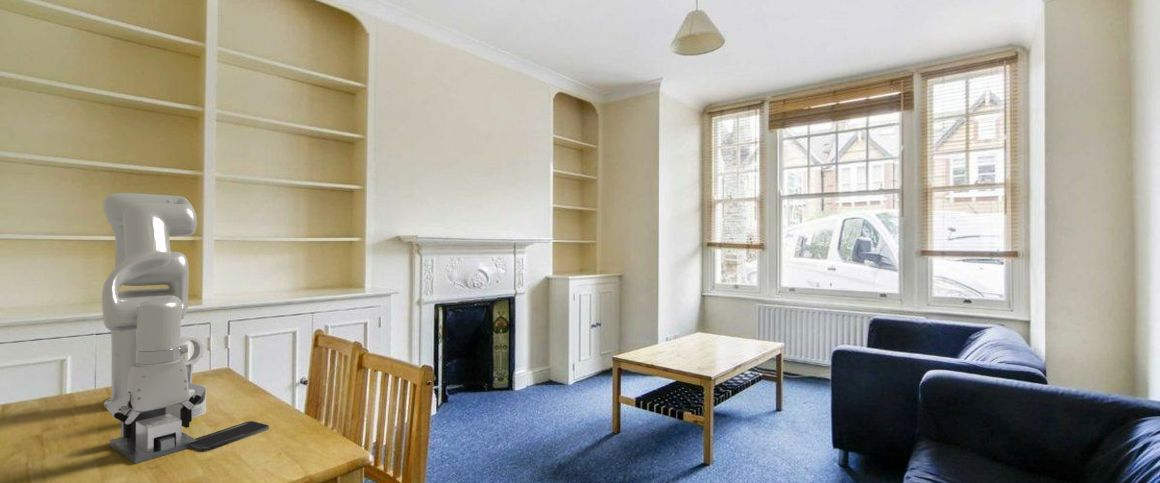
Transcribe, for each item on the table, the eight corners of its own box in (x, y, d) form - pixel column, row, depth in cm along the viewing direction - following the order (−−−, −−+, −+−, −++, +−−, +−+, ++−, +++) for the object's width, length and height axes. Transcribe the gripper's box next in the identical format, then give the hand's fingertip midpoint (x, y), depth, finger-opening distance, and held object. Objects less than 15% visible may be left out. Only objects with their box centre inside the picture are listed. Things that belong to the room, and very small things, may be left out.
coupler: (109, 445, 114) (109, 406, 114) (169, 430, 124) (169, 393, 124) (135, 463, 106) (135, 421, 106) (197, 445, 115) (197, 406, 115)
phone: (184, 442, 115) (250, 420, 129) (184, 447, 115) (250, 424, 129) (205, 448, 112) (271, 425, 125) (205, 454, 112) (271, 430, 125)
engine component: (147, 419, 130) (179, 423, 128) (147, 340, 130) (179, 342, 128) (188, 405, 141) (218, 408, 139) (188, 332, 141) (218, 333, 139)
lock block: (147, 451, 109) (147, 428, 109) (135, 443, 113) (135, 421, 113) (181, 442, 114) (181, 420, 114) (168, 434, 118) (168, 413, 118)
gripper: (197, 347, 122) (197, 418, 122) (101, 361, 108) (101, 442, 108) (211, 351, 118) (211, 424, 118) (113, 367, 104) (113, 450, 104)
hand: (158, 433), depth 113 cm, fingers open, 9 cm apart
